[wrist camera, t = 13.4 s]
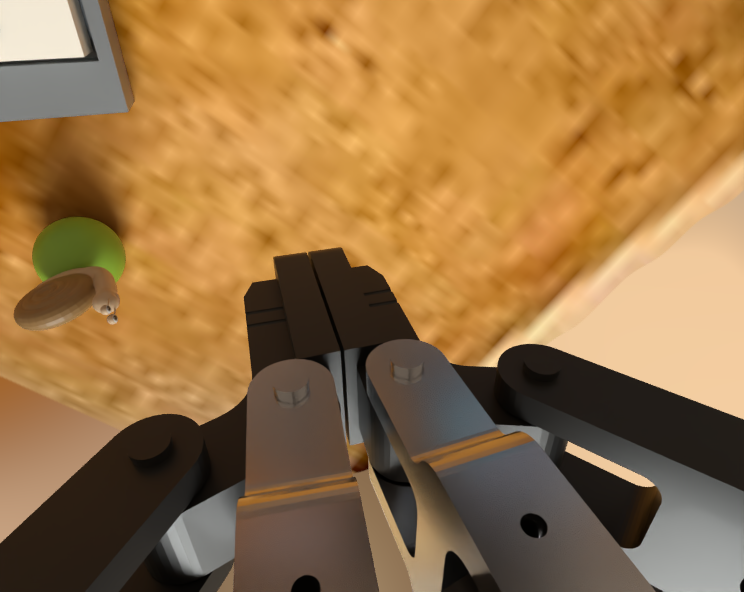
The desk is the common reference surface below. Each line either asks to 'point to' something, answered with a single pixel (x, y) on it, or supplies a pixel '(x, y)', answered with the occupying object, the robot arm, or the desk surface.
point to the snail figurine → (73, 274)
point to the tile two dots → (42, 30)
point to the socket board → (70, 77)
